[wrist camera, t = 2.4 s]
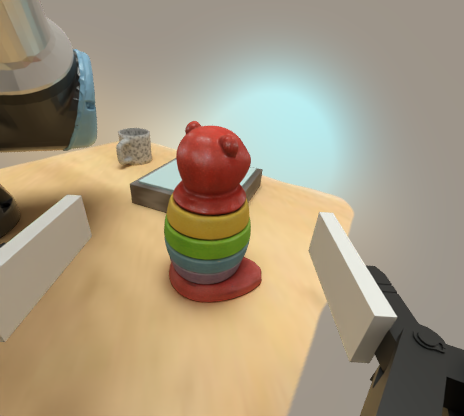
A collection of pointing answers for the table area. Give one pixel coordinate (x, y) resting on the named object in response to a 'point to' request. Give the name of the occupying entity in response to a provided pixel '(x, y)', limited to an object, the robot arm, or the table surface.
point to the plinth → (167, 178)
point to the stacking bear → (210, 217)
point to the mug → (134, 146)
